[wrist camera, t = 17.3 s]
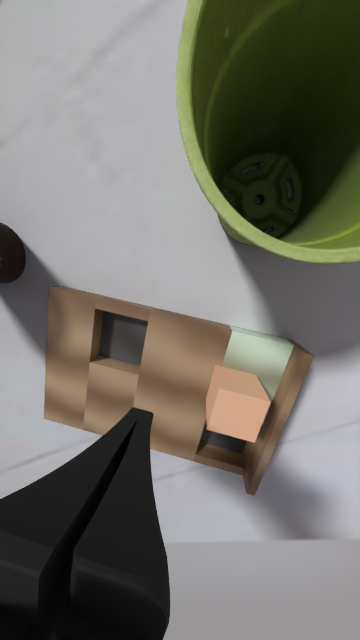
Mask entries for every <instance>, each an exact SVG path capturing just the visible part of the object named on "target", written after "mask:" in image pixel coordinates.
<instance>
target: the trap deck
mask: <svg viewBox="0 0 360 640" xmlns="http://www.w3.org/2000/svg"><path fill="white" fill-rule="evenodd" d="M313 358H314V355H313V354H311V353H310V352H308V351H307V350H306V349H304V348H303V347H301V346H300V345H298V344H297V343H296V342H294V341H293V340H289V339H285V338H280V337H276V336H272V335H268V334H263V333H259V332H255V331H251V330H246V329H242V328H238V327H234V326H229V325H225V324H221V323H217V322H212V321H208V320H204V319H200V318H195V317H191V316H187V315H183V314H178V313H174V312H170V311H166V310H161V309H157V308H153V307H149V306H144V305H140V304H136V303H132V302H127V301H123V300H119V299H115V298H110V297H106V296H102V295H98V294H93V293H89V292H85V291H81V290H76V289H72V288H68V287H64V286H62V287H49V293H48V321H47V349H46V377H45V405H44V419H47V420H51V421H54V422H58V423H61V424H65V425H68V426H72V427H75V428H79V429H82V430H86V431H89V432H93V433H96V434H100V435H104V434H106V433H107V432H108V431H109V430H110V429H111V428H112V427H113V426H114V425H115V424H117V423H118V422H119V421H120V420H121V419H122V418H123V417H124V416H125V415H126V414H127V412H128V411H129V410H130V409H131V408H133V407H135V408H138V409H142V410H146V411H149V412H153V414H154V416H153V421H152V426H151V432H150V449H152V450H156V451H159V452H163V453H166V454H170V455H173V456H177V457H180V458H184V459H187V460H191V461H194V462H198V463H201V464H205V465H208V466H212V467H216V468H219V469H223V470H226V471H230V472H233V473H237V474H240V475H243V478H244V483H245V488H246V493H247V494H251V495H255V493H256V491H257V488H258V486H259V484H260V481H261V479H262V477H263V474H264V472H265V470H266V467H267V465H268V463H269V460H270V458H271V456H272V453H273V451H274V449H275V446H276V444H277V442H278V439H279V437H280V435H281V432H282V430H283V428H284V425H285V423H286V421H287V418H288V416H289V414H290V411H291V409H292V407H293V404H294V402H295V400H296V397H297V395H298V393H299V390H300V388H301V386H302V383H303V381H304V379H305V376H306V374H307V372H308V369H309V367H310V365H311V362H312V360H313ZM215 365H218V366H223V367H227V368H231V369H235V370H239V371H243V372H247V373H251V374H255V375H257V377H258V379H259V381H260V383H261V385H262V386H263V388H264V390H265V392H266V394H267V396H268V397H269V399H270V401H271V402H270V405H269V408H268V410H267V413H266V415H265V418H264V420H263V423H262V425H261V428H260V431H259V433H258V436H257V438H256V441H255V443H254V442H250V441H246V440H243V439H239V438H235V437H232V436H228V435H224V434H221V433H217V432H213V431H210V430H207V423H206V397H207V393H208V390H209V386H210V383H211V379H212V376H213V372H214V369H215Z"/></svg>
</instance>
